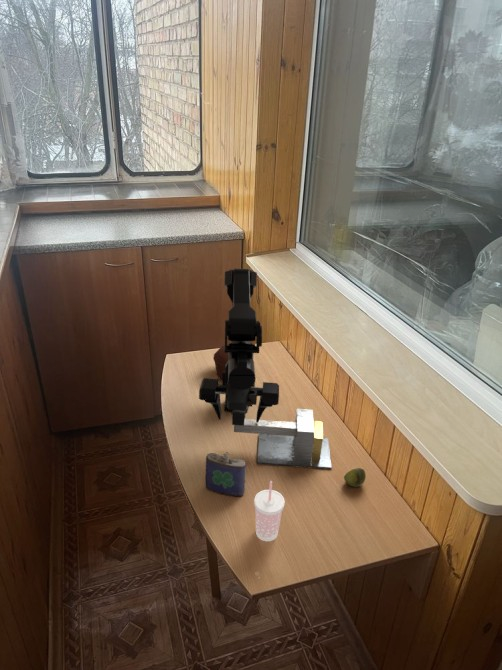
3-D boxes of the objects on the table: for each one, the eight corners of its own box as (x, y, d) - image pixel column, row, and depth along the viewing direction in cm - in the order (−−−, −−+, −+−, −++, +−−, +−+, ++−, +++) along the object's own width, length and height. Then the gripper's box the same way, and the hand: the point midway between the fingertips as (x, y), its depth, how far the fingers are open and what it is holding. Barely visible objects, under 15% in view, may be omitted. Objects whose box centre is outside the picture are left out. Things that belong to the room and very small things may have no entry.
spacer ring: (311, 459, 126) (314, 437, 123) (312, 442, 132) (314, 420, 129) (319, 460, 126) (322, 438, 123) (319, 443, 132) (322, 421, 129)
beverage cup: (267, 516, 110) (271, 466, 104) (287, 534, 106) (293, 483, 100) (246, 530, 106) (249, 479, 100) (266, 549, 102) (270, 498, 96)
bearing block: (257, 463, 125) (259, 431, 120) (259, 435, 134) (261, 403, 130) (331, 469, 124) (336, 436, 119) (327, 440, 134) (332, 408, 129)
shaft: (231, 432, 126) (232, 412, 123) (232, 425, 128) (233, 404, 125) (307, 438, 125) (309, 417, 122) (306, 430, 128) (308, 410, 125)
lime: (340, 485, 119) (343, 469, 117) (350, 474, 123) (353, 458, 120) (358, 494, 117) (361, 478, 115) (367, 483, 120) (370, 466, 118)
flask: (245, 490, 117) (247, 454, 112) (242, 499, 114) (243, 462, 109) (207, 481, 119) (207, 445, 114) (203, 490, 116) (202, 453, 111)
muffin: (248, 386, 155) (249, 358, 150) (211, 385, 155) (212, 356, 150) (249, 366, 165) (250, 339, 161) (214, 364, 165) (215, 337, 160)
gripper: (195, 381, 112) (195, 438, 119) (280, 387, 111) (275, 444, 118) (202, 356, 121) (202, 410, 129) (280, 361, 121) (276, 415, 128)
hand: (238, 420), depth 126 cm, fingers open, 9 cm apart
